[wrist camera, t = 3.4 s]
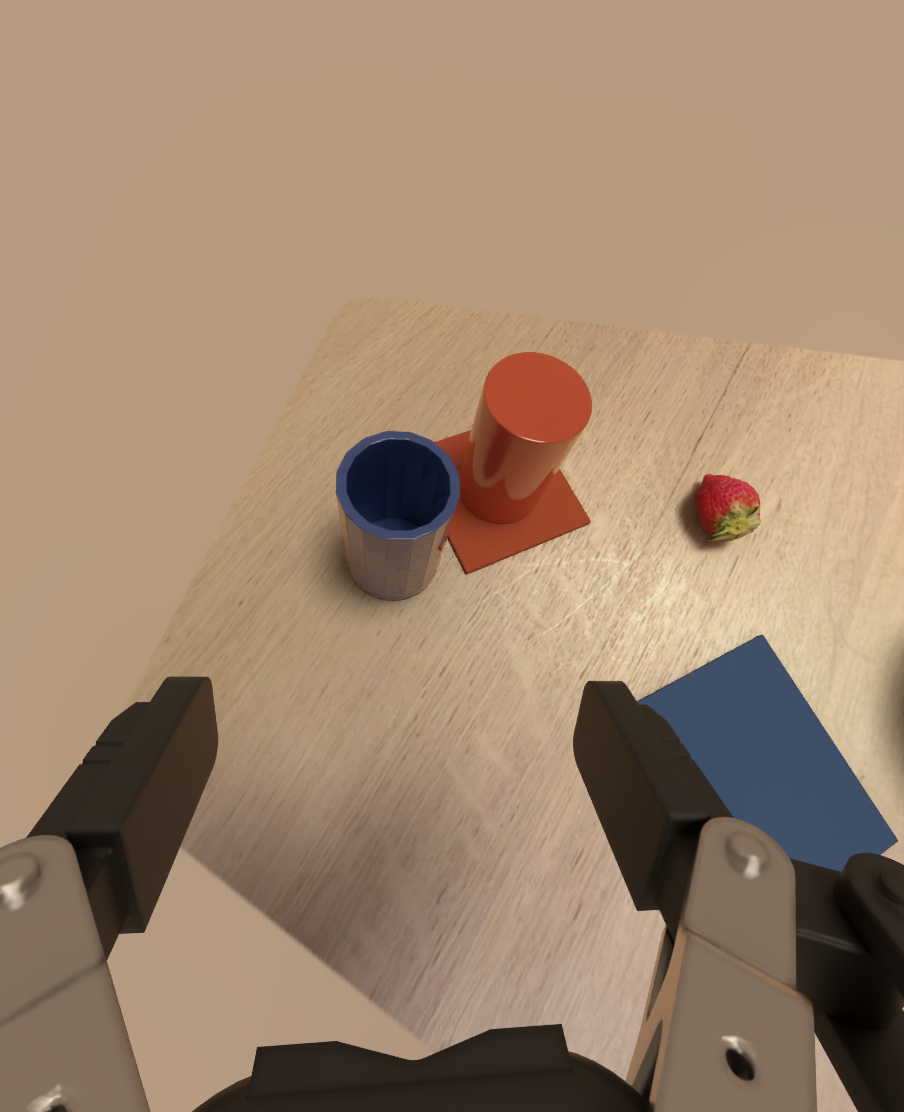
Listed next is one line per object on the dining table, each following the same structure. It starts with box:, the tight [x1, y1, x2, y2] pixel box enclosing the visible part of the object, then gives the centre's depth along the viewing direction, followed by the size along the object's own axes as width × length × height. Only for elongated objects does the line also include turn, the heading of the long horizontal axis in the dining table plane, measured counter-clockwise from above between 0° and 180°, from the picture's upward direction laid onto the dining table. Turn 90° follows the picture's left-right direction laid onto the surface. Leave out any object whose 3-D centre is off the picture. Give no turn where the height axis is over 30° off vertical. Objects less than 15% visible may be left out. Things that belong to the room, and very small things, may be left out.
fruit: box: [695, 474, 761, 542], centre depth 37 cm, size 4×6×5 cm
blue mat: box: [637, 635, 898, 872], centre depth 32 cm, size 14×14×1 cm
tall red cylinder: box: [459, 352, 592, 524], centre depth 33 cm, size 6×6×10 cm
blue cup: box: [336, 431, 460, 600], centre depth 30 cm, size 6×6×10 cm
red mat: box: [434, 430, 591, 574], centre depth 37 cm, size 10×10×1 cm
